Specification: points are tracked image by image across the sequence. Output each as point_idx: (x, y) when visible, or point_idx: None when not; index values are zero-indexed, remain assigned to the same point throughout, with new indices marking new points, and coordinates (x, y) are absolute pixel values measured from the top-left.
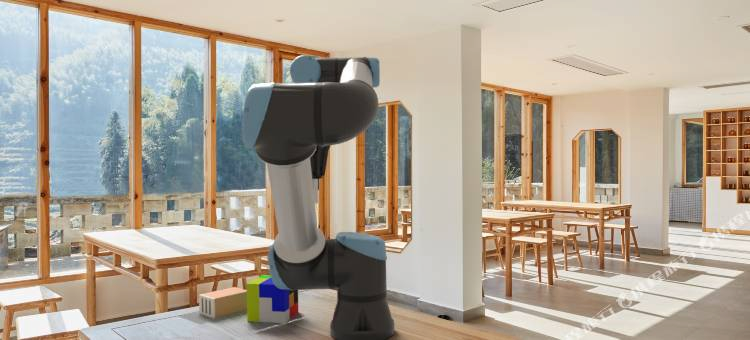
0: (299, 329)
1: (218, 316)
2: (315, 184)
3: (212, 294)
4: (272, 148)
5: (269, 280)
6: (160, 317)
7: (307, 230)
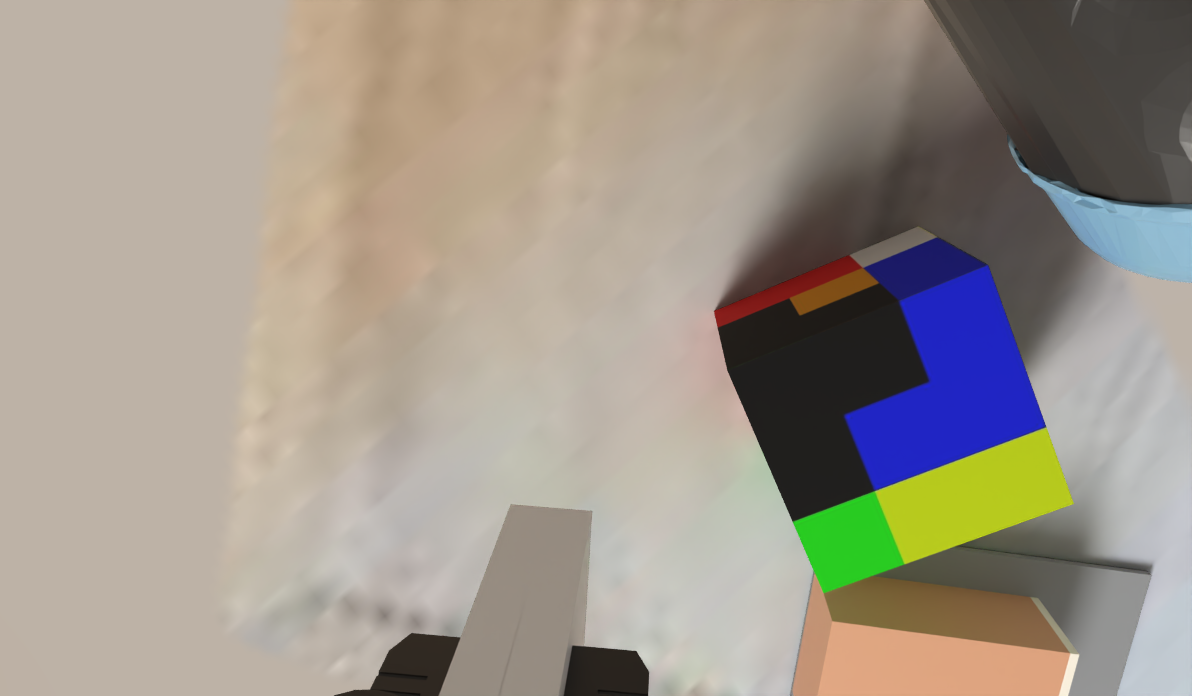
0: (945, 99)
1: (1011, 595)
2: (517, 670)
3: None
4: None
5: (927, 443)
6: None
7: None
